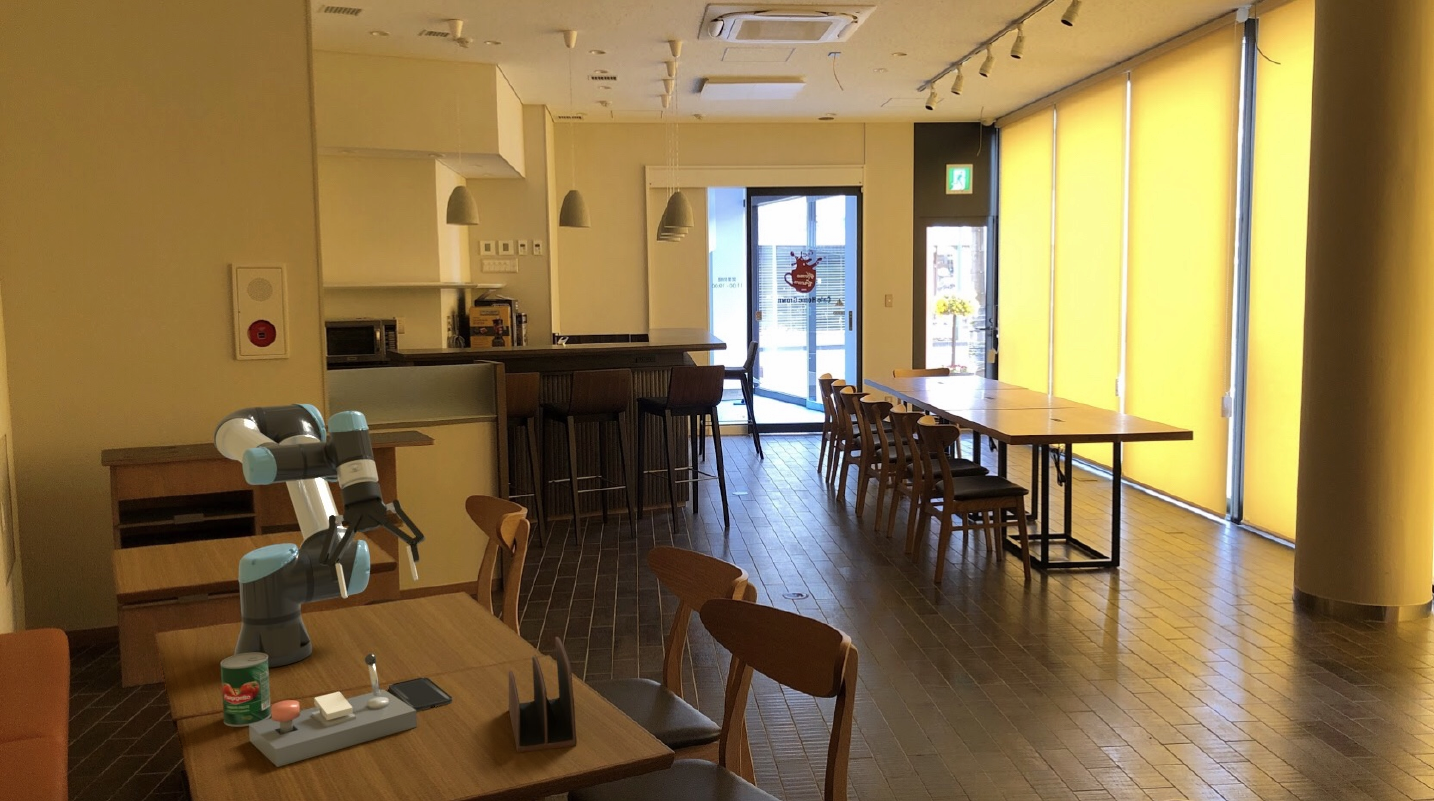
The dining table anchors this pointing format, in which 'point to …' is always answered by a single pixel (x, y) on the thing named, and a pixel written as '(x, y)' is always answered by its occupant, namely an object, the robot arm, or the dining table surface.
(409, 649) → the dining table surface
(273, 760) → the control panel
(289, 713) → the push button
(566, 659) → the letter holder
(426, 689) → the phone
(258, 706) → the canned tomato
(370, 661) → the toggle lever
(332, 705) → the rocker switch
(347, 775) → the dining table surface
